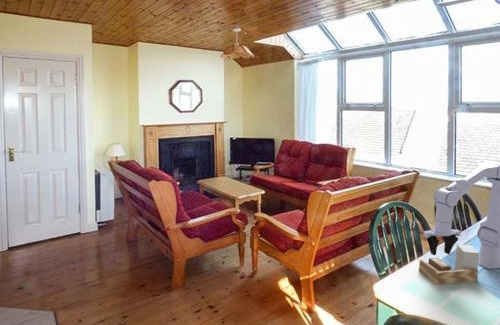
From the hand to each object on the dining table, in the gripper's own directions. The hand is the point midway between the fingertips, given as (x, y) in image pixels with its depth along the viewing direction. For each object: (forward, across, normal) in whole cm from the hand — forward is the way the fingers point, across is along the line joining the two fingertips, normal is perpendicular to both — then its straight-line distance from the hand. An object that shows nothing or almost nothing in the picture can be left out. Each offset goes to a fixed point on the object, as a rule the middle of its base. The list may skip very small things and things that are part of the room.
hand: (440, 253), depth 144 cm
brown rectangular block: (+8, 0, 0) cm, 9 cm away
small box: (+9, -11, +1) cm, 14 cm away
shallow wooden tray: (+8, -2, +2) cm, 9 cm away
